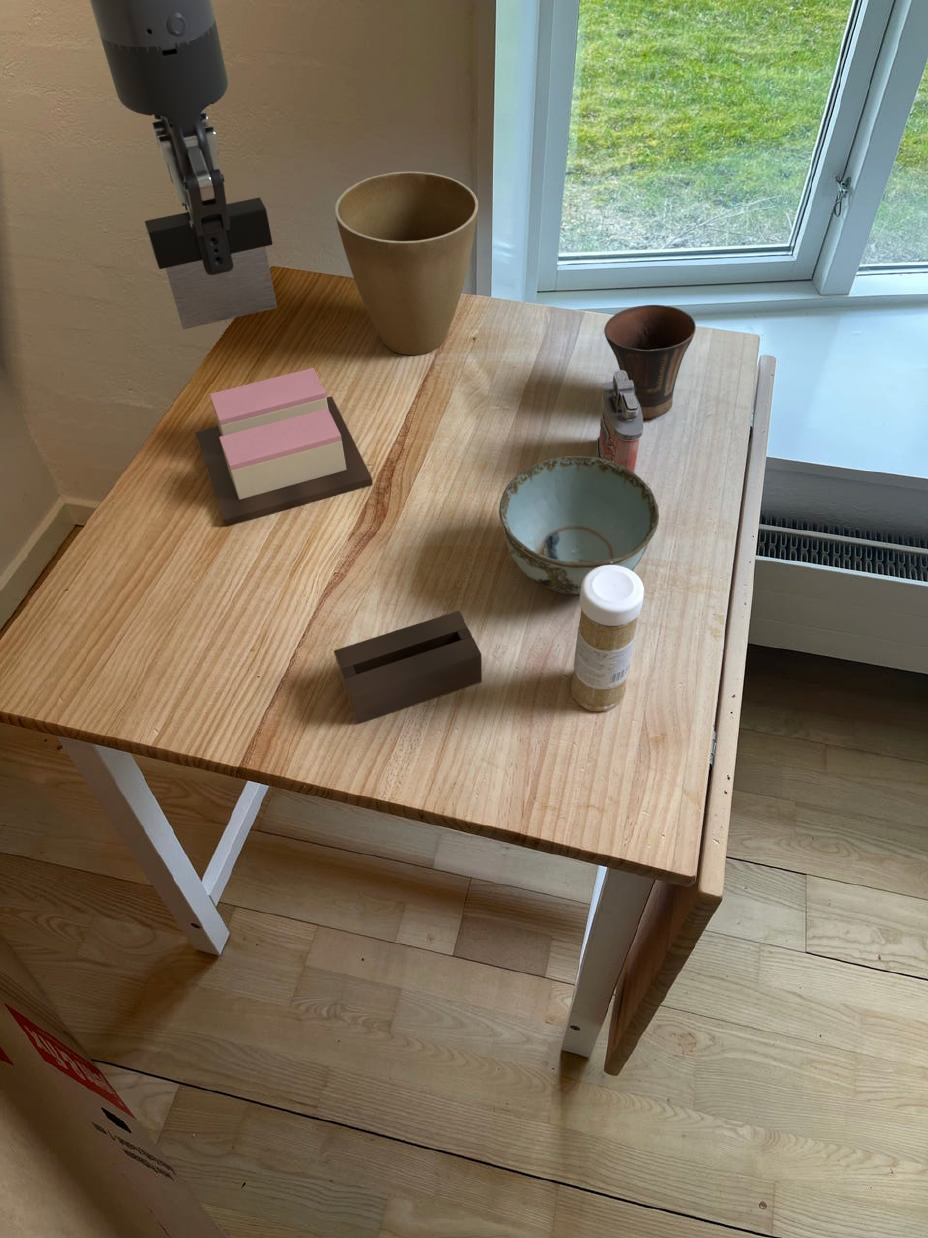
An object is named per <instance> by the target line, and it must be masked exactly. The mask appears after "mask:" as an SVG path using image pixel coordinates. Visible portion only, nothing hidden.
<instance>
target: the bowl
mask: <svg viewBox="0 0 928 1238" xmlns="http://www.w3.org/2000/svg"><path fill="white" fill-rule="evenodd" d="M498 514H499V520H500V523H501V525H502V528H503V532H504V538H505V541H506V544H507V547H508V550H509V552H510V555H511V557H512V558H513V560H514V561H515V563H516V564H517V566H518V567H519V568H520V569H521V571H522V572H523V573H524V574H525V575H526V576H527V577H528V578H530V579H531V580H532V581H533V582H535V583H536V584H539V585H540V586H542V587H545V588H546V589H549V590H552V591H554V592H557V593H562V594H567V595H580V591H581V585H582V581H583V579H584V577H585V576H586V575H587V574H588V573H589V572H590V571H591V570H593V569H595V568H597V567H600V566H604V565H617V566H622V567H625V568H628V569H629V570H631V571H633V570H634V569H635V568H636V567H637V566H638V564H639V563H640V561H641V560H642V558H643V556H644V555H645V553H646V552H647V549H648V546H649V544H650V542H651V540H652V538H653V537H654V535H655V533H656V532H657V529H658V526H659V520H660V512H659V506H658V503H657V500H656V498H655V495H654V493H653V491H652V490H651V488H650V487H649V486H648V484H647V483H646V482H645V481H644V480H643V479H642V478H641V477H640V476H639V475H637V474H636V473H635V474H634V473H633V472H632V471H630V470H629V469H627V468H625V467H623V466H621V465H618V464H616V463H614V462H611V461H608V460H604V459H601V458H597V457H594V456H584V455H565V456H558V457H553V458H552V457H551V458H549V459H545V460H542V461H539V462H536V463H534V464H532V465H530V466H528V467H525V468H524V469H523V470H521V471H520V472H518V473H517V474H516V475H515V476H514V477H513V478H512V479H511V480H510V481H509V483H508V484H507V485H506V487H505V489H504V491H503V492H502V495H501V498H500V501H499V509H498Z"/></svg>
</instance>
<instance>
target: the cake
mask: <svg viewBox="0 0 928 1238" xmlns="http://www.w3.org/2000/svg"><path fill="white" fill-rule="evenodd" d="M219 439H220V442H221V445H222V449H223V452H224V456H225V459H226V463H227V466H228V469H229V473H230V475H231V478H232V481H233V484H234V487H235V490H236V492H237V495H238V498H239V500H241V499H244V498H248V497H251V496H255V495H258V494H262V493H266V492H269V491H273V490H276V489H280V488H283V487H287V486H291V485H294V484H298V483H301V482H305V481H308V480H312V479H316V478H319V477H323V476H326V475H330V474H333V473H337V472H341V471H344V470H346V464H345V458H344V452H343V445H342V439H341V435H340V432H339V430H338V428H337V426H336V424H335V422H334V420H333V418H332V416H331V414H330V412H329V410H328V408H327V409H323V410H319V411H315V412H312V413H308V414H304V415H300V416H296V417H293V418H289V419H285V420H281V421H278V422H274V423H270V424H266V425H262V426H259V427H255V428H251V429H247V430H243V431H240V432H236V433H232V434H228V435H225V436H221V437H219Z"/></svg>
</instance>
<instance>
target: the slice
mask: <svg viewBox="0 0 928 1238" xmlns="http://www.w3.org/2000/svg"><path fill="white" fill-rule="evenodd" d="M209 398H210V402H211V405H212V410H213V412H214V416H215V419H216V420H215V421H216V424H217V426H218V427H219V430H220V433H221V435H222V436H225V435H228V434H232V433H236V432H240V431H243V430H247V429H251V428H255V427H259V426H262V425H266V424H270V423H274V422H278V421H281V420H285V419H289V418H293V417H296V416H300V415H304V414H308V413H312V412H315V411H319V410H323V409H327V408H328V404H327V393H326V390H325V388H324V386H323V384H322V383H321V380H320V378H319V376H318V374H317V372H316V370H315V368H314V367H311V368H306V369H303V370H298V371H295V372H290V373H287V374H283V375H279V376H275V377H271V378H267V379H263V380H259V381H255V382H251V383H247V384H244V385H239V386H236V387H232V388H227V389H223V390H219V391H216V392H212V393H209Z"/></svg>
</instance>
